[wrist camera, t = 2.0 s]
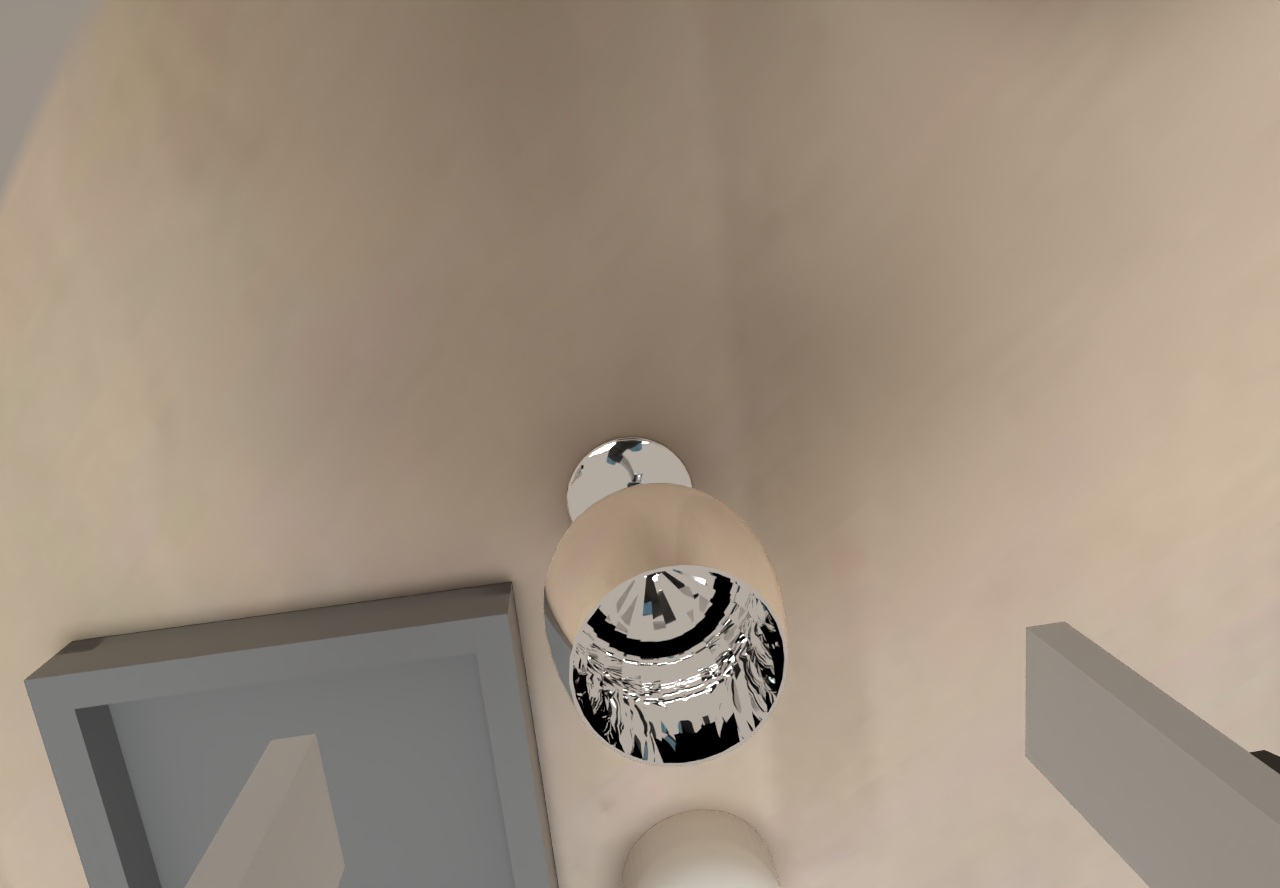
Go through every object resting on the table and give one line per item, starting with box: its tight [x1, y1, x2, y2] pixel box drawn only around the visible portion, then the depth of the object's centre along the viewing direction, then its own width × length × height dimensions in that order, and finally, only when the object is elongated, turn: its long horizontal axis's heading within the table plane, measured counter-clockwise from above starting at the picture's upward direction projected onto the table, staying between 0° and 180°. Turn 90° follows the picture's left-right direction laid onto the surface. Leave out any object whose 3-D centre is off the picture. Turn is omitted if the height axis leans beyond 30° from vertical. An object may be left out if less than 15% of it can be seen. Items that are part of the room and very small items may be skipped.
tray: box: [24, 582, 559, 888], centre depth 29 cm, size 15×15×3 cm
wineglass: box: [544, 437, 788, 767], centre depth 23 cm, size 6×6×12 cm
